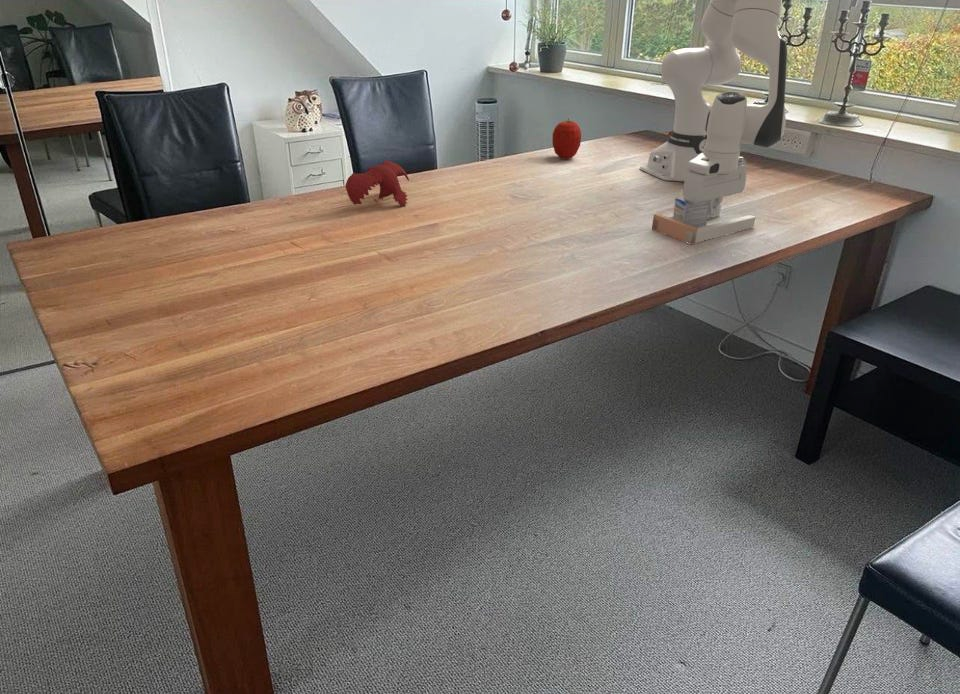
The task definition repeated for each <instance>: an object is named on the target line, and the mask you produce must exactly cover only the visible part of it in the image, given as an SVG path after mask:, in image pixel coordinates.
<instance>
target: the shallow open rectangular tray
mask: <svg viewBox="0 0 960 694" xmlns="http://www.w3.org/2000/svg"><path fill="white" fill-rule="evenodd" d="M721 209H722V204H720V205H719V207H718V210H717V213H716V214H712V215H708V216H707V218H708V219H710V218H709V217H712V218H714V217H713V216H716V217H719V216H720V213H721ZM673 214H674V212H672V213H668V214H661V213H658V212H656V213H653V218H652V225H651V230H653V231H656V230H657V231H656V232H659V233H661V234H664V233H665V234H664V235H666V234H667V235H666V236H668V235H670V236H669V237H671V236H672V237H671V238H673V237H675V238H674V239H676V238H677V239H676V240H678V239H680V240H679V241H681V240H683V241H685V242H684V243H686V242H688V243H690V244H689V245H694V244H693V243H695V244H698V243H697V242H699V243H702V242H705V241H704V240H706V241H709V240H708V239H710V240H713V239H712V238H714V239H716V237H717V238H721V237H724V236H723V235H725V236H727V235H726V234H728V235H731V234H730V233H732V234H734V233H733V232H736V233H738V232H737V231H740V232H742V231H741V230H743V231H745V230H744V229H747V230H749V229H748V228H751V229H753V228H752V227H755V224H756V223H755V221H756V216H754V215H751V214H748V215H743V216H739V217H736V218H735V217H734V218H733V219H732V218H731V219H728V220H724V221H720V222H715V223H712V224H708V225H707V224H706V226H703V227H699V228H696V227H693V226H691V225H688V224H685V223H683V222H680V221H677V220H675V219H673ZM718 215H719V216H718ZM720 236H721V237H720ZM683 241H682V242H683ZM701 241H702V242H701ZM688 243H687V244H688Z"/></svg>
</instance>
